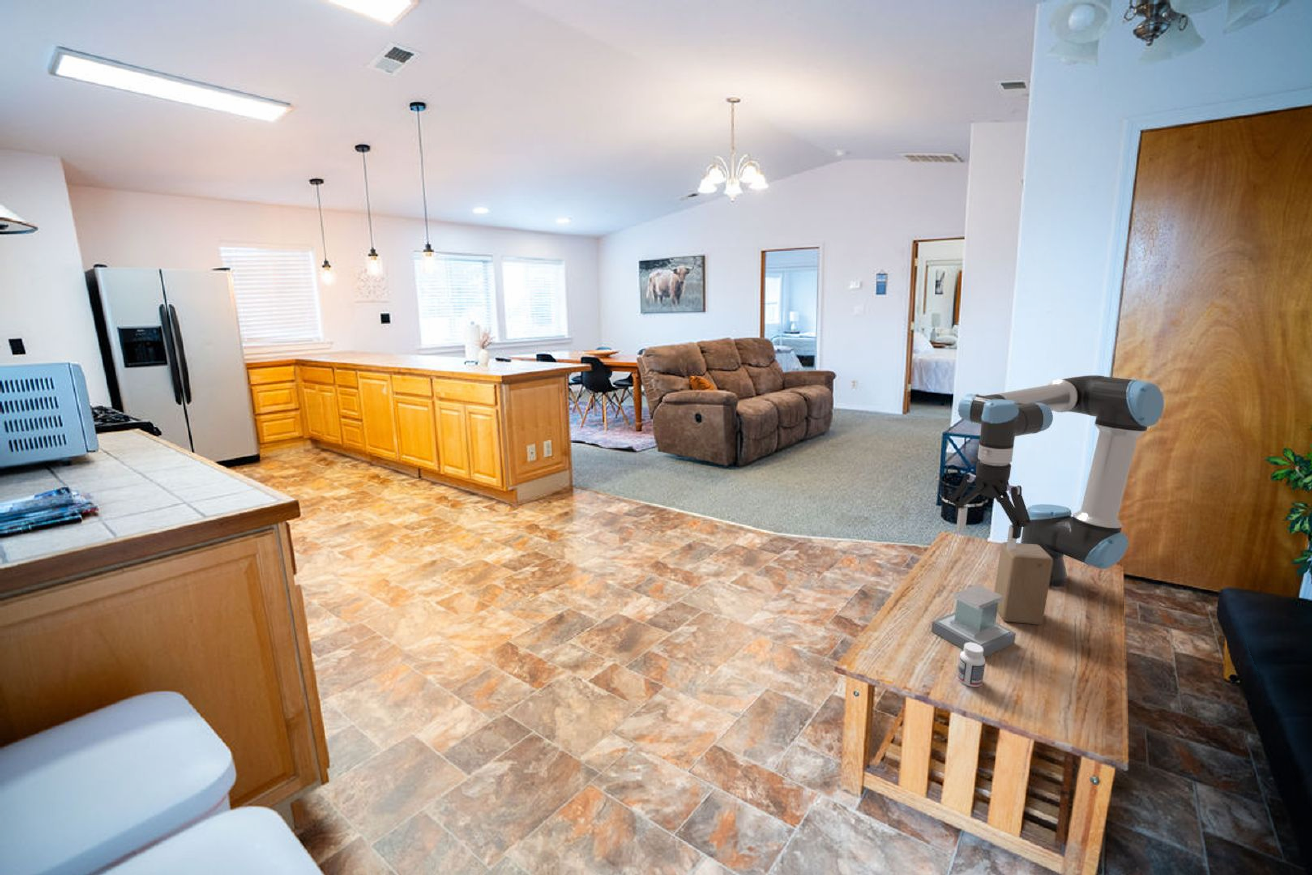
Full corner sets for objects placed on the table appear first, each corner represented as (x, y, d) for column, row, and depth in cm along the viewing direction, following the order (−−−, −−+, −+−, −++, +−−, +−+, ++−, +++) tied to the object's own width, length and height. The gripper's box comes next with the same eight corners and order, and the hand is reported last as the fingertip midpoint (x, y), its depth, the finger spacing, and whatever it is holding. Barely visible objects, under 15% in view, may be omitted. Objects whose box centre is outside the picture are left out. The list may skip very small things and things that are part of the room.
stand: (964, 617, 166) (966, 607, 165) (1014, 643, 154) (1016, 632, 153) (931, 631, 159) (932, 620, 159) (980, 659, 147) (981, 647, 147)
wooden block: (1043, 626, 161) (1055, 558, 156) (1003, 622, 163) (1013, 555, 158) (1028, 607, 171) (1039, 543, 166) (991, 604, 173) (1000, 540, 168)
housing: (949, 624, 157) (953, 593, 154) (973, 615, 161) (977, 584, 159) (974, 638, 151) (979, 605, 148) (998, 627, 155) (1003, 595, 153)
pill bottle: (985, 679, 140) (989, 646, 138) (978, 690, 136) (983, 656, 134) (960, 670, 143) (965, 637, 141) (954, 680, 139) (958, 647, 137)
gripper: (940, 452, 158) (933, 526, 163) (1036, 477, 137) (1025, 561, 142) (958, 447, 161) (950, 520, 167) (1055, 471, 140) (1042, 553, 146)
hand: (984, 539), depth 154 cm, fingers open, 13 cm apart
